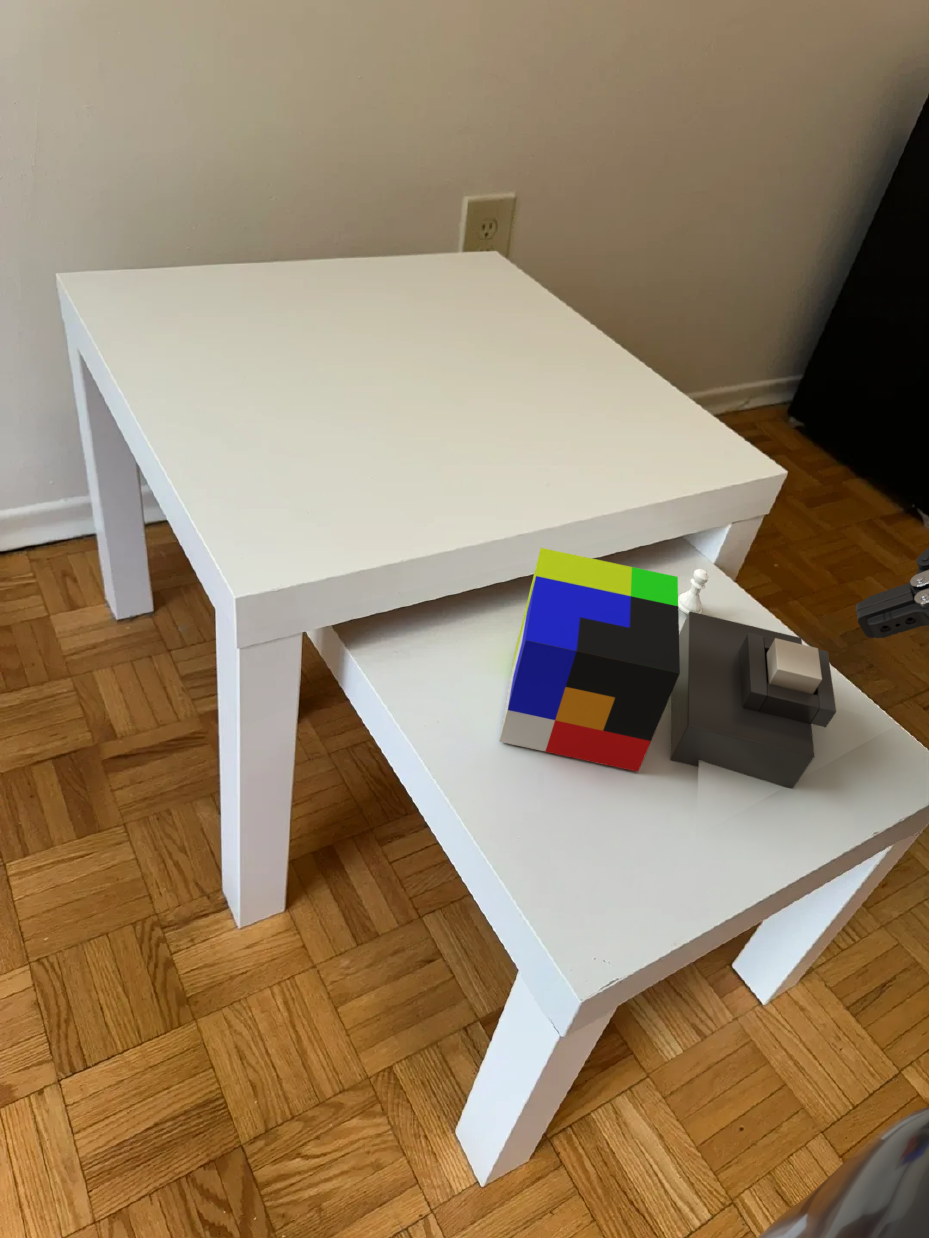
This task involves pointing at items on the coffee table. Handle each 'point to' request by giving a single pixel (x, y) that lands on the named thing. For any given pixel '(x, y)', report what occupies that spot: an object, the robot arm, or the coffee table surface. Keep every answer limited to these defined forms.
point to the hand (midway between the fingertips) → (861, 622)
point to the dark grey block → (742, 703)
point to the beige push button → (793, 666)
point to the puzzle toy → (593, 660)
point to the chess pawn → (693, 593)
